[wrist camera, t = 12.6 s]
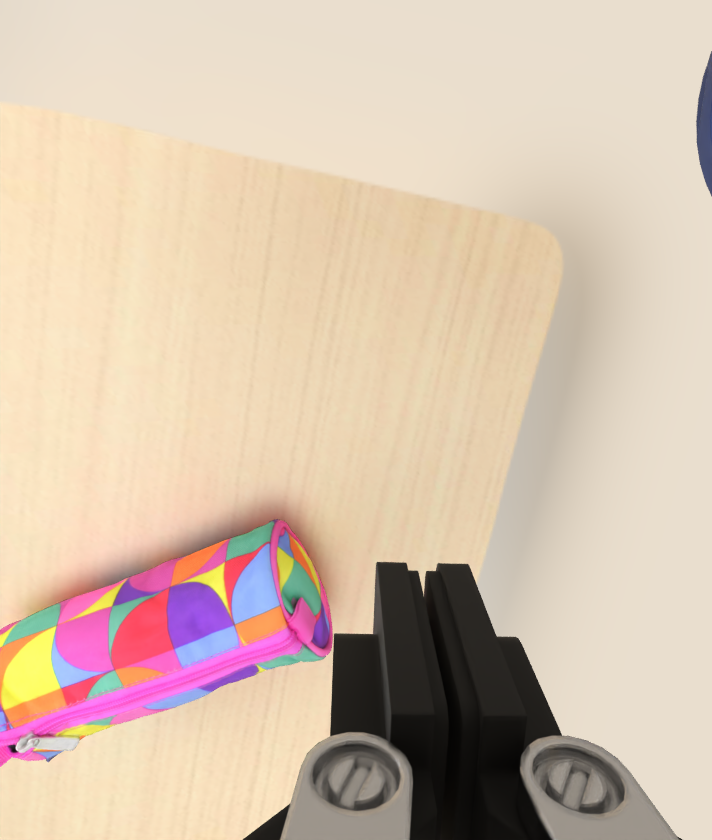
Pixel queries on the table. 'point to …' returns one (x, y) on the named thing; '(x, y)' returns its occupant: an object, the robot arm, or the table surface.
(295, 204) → the table surface
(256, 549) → the pencil case
